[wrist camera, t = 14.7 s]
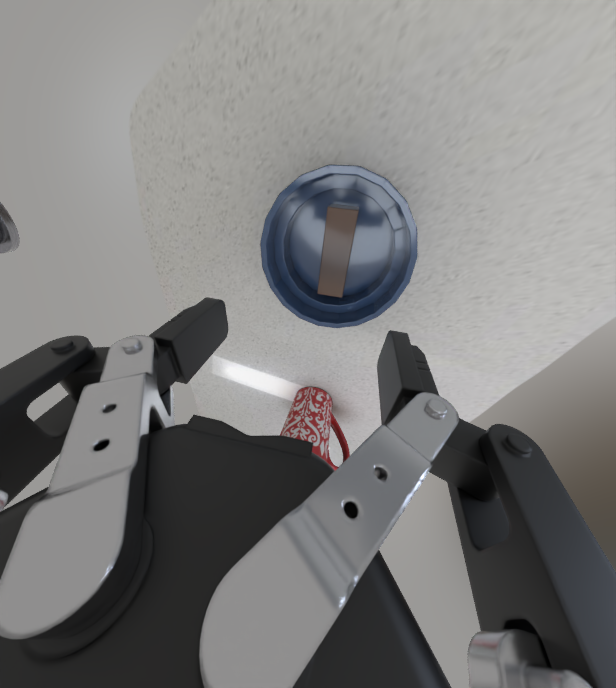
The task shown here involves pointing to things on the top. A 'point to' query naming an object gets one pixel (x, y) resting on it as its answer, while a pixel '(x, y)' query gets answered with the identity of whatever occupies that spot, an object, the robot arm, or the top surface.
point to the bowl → (366, 254)
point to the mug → (314, 422)
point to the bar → (337, 248)
